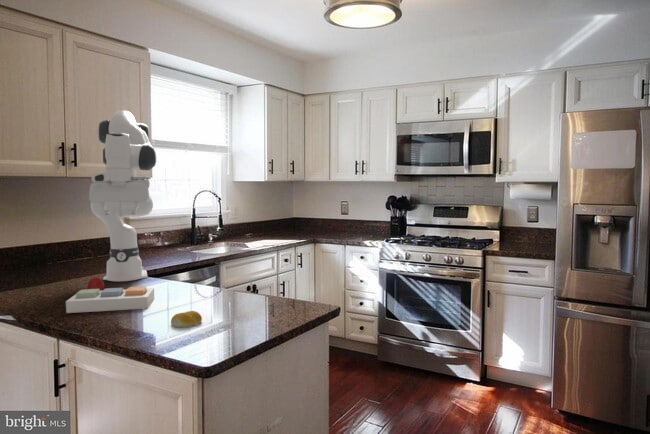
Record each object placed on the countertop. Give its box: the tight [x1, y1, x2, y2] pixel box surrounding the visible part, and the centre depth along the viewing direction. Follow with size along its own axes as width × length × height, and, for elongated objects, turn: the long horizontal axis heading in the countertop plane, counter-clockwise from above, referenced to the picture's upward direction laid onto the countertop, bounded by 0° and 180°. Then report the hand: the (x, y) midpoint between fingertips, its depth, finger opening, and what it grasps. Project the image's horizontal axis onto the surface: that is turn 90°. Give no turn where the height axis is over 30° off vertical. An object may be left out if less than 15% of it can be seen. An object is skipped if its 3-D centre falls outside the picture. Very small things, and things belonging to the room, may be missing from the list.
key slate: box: [101, 287, 124, 297], centre depth 166 cm, size 6×6×3 cm
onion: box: [86, 274, 105, 291], centre depth 180 cm, size 6×6×8 cm
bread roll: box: [170, 310, 203, 329], centre depth 144 cm, size 8×9×4 cm
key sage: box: [75, 288, 100, 298], centre depth 164 cm, size 6×6×3 cm
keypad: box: [65, 287, 155, 314], centre depth 166 cm, size 14×26×4 cm, turn 101°
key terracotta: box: [125, 286, 147, 296], centre depth 167 cm, size 6×6×3 cm
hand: (120, 214), depth 170 cm, fingers open, 8 cm apart
